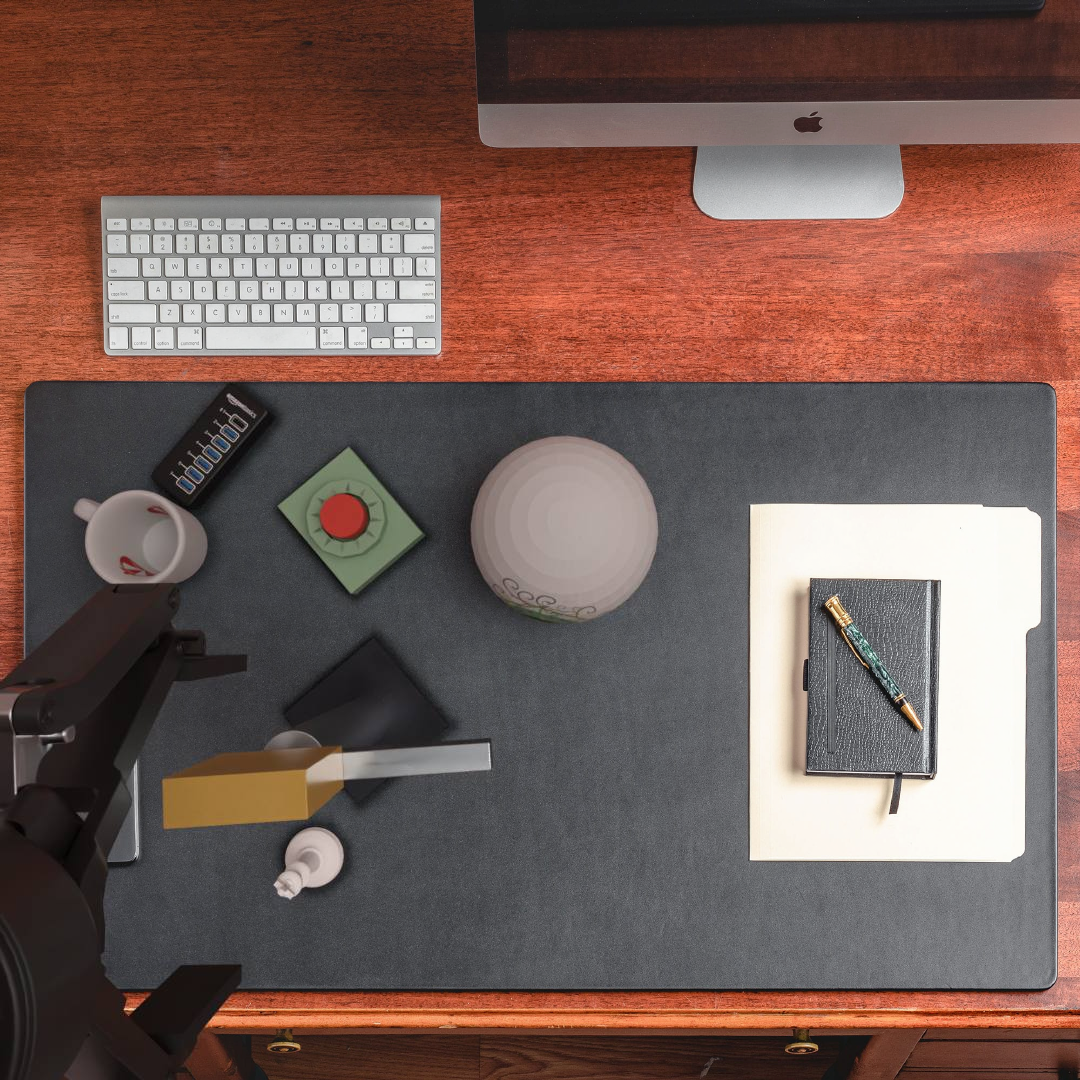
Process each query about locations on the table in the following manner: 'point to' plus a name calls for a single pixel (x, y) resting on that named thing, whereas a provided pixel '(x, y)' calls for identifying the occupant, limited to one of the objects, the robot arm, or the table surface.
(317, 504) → the button box
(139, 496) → the cup
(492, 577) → the decorative object
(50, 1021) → the robot arm
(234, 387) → the multiport hub
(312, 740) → the faucet body
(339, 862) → the chess piece
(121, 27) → the table surface
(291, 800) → the tap handle
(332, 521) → the button
